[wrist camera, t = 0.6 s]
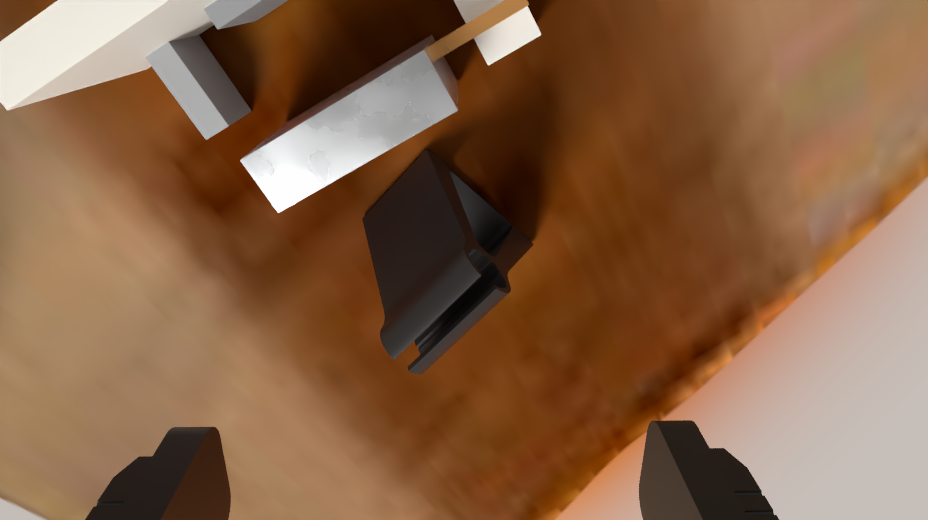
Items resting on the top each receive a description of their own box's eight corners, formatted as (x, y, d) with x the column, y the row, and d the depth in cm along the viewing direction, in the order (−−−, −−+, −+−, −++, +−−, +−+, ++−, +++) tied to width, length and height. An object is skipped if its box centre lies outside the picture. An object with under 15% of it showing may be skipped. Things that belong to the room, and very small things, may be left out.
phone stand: (533, 242, 40) (559, 342, 29) (467, 303, 42) (469, 418, 31) (427, 146, 38) (413, 216, 27) (362, 215, 40) (324, 307, 29)
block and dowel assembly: (313, 167, 38) (278, 213, 31) (283, 123, 37) (240, 160, 30) (537, 37, 35) (557, 53, 28) (512, -15, 34) (526, -12, 27)
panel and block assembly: (242, 198, 39) (156, 285, 28) (122, 36, 35) (-32, 64, 24) (533, 28, 35) (565, 52, 24) (433, -175, 31) (418, -257, 20)
